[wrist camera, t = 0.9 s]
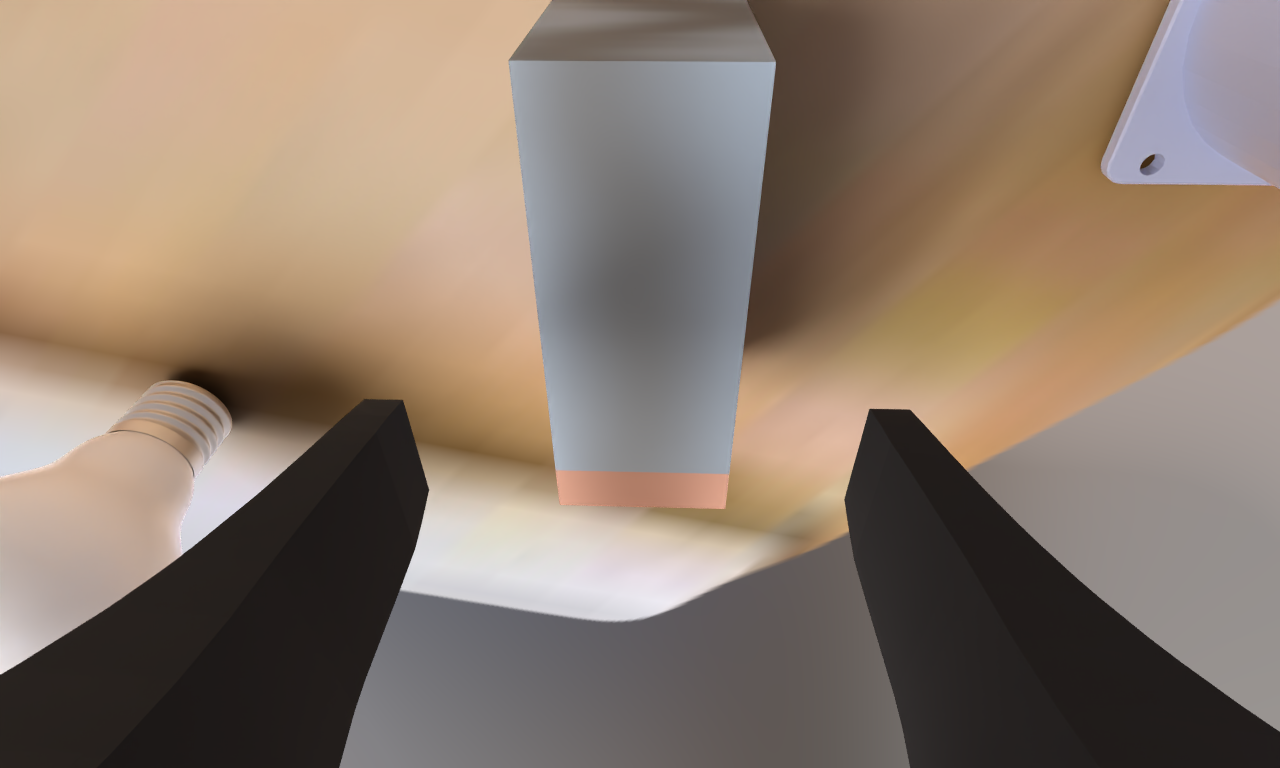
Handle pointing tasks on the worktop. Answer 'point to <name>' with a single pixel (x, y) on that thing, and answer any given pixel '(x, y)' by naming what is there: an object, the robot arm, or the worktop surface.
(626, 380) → the painted block
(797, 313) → the worktop surface
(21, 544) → the lightbulb
